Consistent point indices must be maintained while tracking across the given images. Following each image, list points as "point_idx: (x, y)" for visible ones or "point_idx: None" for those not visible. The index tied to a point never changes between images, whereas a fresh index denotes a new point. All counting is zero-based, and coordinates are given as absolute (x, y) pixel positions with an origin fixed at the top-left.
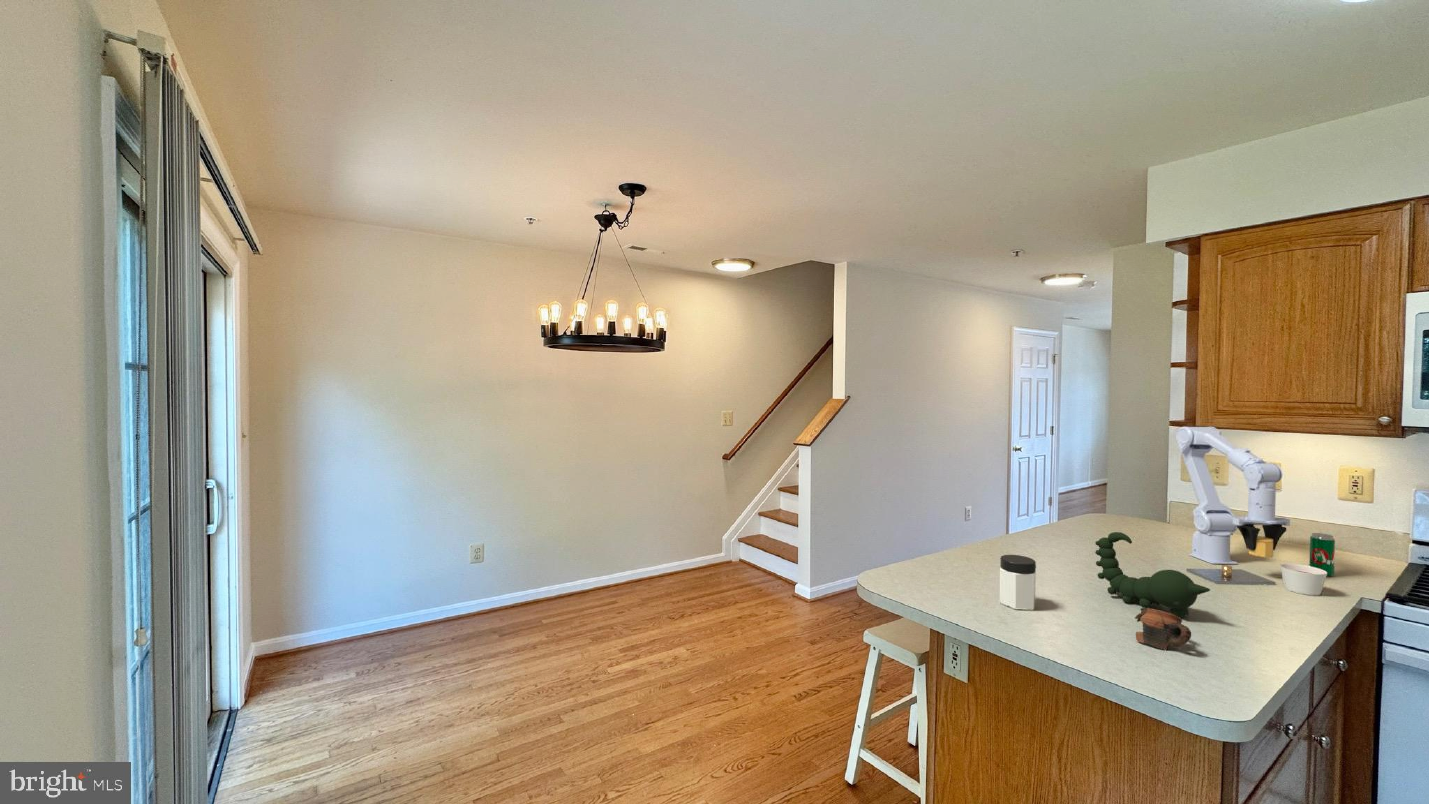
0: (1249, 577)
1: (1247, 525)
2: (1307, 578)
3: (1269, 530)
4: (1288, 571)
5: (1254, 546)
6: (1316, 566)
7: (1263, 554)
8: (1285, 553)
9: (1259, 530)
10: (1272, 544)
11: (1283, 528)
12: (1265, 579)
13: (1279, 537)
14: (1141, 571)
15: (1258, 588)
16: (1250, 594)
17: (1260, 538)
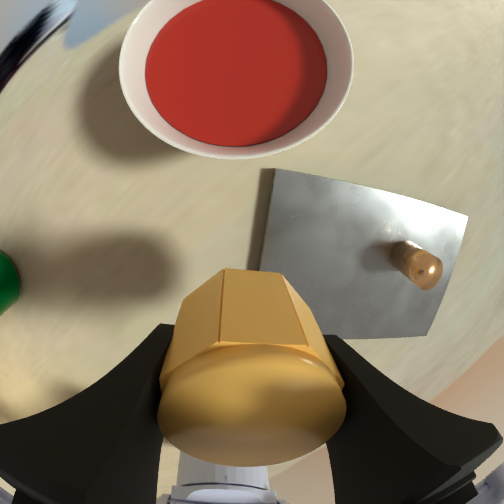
0: (329, 240)
1: (462, 493)
2: (298, 4)
3: (141, 493)
4: (346, 60)
5: (346, 347)
6: (1, 282)
7: (290, 288)
8: (15, 397)
9: (440, 455)
10: (222, 331)
11: (20, 477)
12: (285, 207)
13: (97, 391)
14: (493, 318)
15: (386, 146)
16: (454, 114)
17: (290, 417)
